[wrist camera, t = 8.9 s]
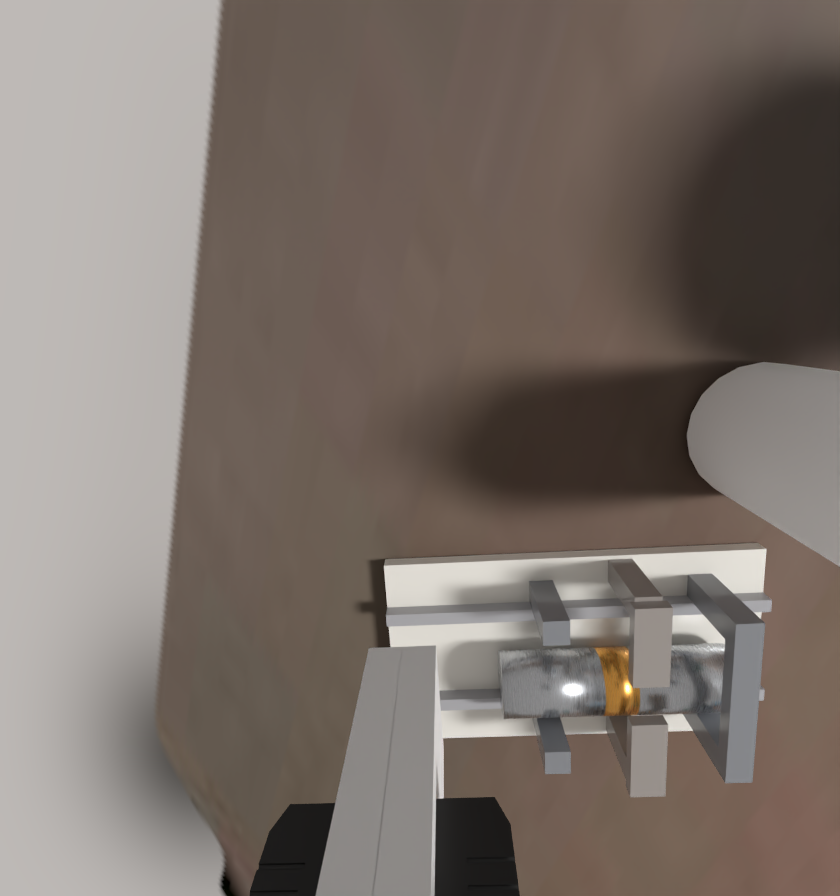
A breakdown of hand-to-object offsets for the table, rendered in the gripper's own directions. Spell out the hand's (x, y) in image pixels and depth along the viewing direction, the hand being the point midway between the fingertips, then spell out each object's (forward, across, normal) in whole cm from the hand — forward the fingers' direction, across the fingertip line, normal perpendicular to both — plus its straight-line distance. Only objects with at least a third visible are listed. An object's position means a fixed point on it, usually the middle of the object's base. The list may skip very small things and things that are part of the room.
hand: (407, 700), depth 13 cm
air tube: (+22, +11, -14) cm, 28 cm away
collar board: (+23, +8, -14) cm, 29 cm away
